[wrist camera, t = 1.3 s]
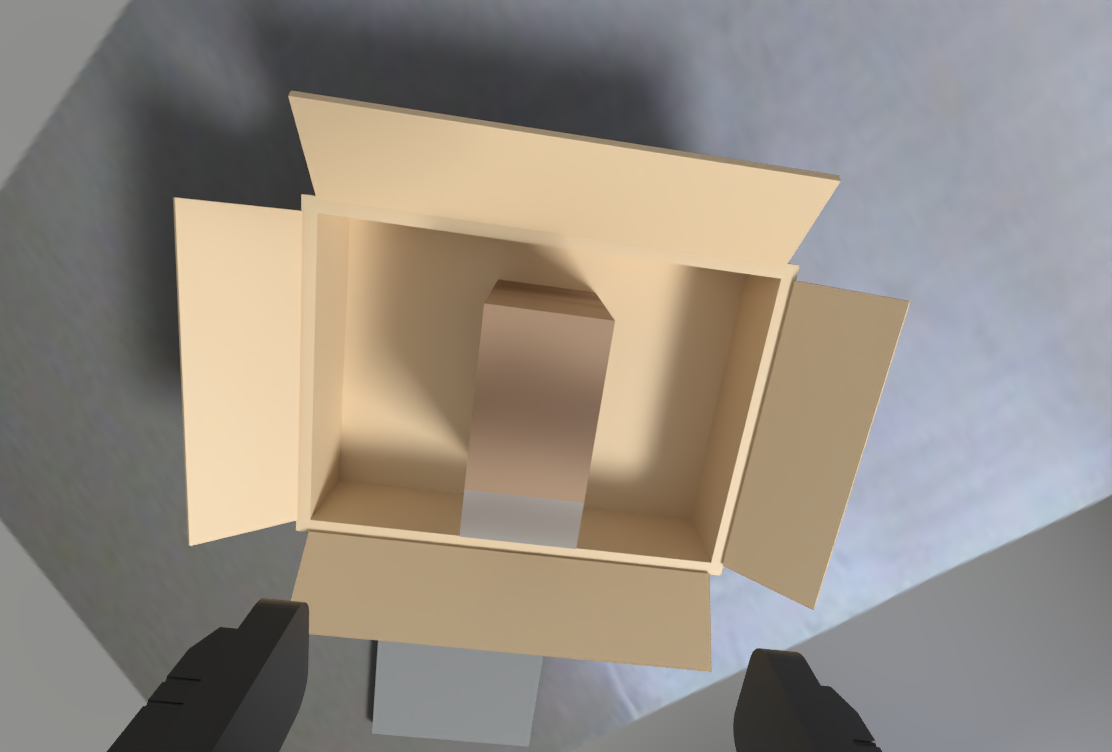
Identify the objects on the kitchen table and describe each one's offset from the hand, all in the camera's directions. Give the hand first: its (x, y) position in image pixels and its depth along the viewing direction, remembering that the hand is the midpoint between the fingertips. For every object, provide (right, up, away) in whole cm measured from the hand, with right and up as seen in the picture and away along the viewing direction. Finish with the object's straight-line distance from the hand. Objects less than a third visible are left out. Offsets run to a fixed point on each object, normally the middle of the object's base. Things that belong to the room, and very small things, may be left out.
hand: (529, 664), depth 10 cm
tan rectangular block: (-1, +5, +17) cm, 18 cm away
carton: (-1, +5, +17) cm, 18 cm away
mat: (-5, -11, +22) cm, 25 cm away
